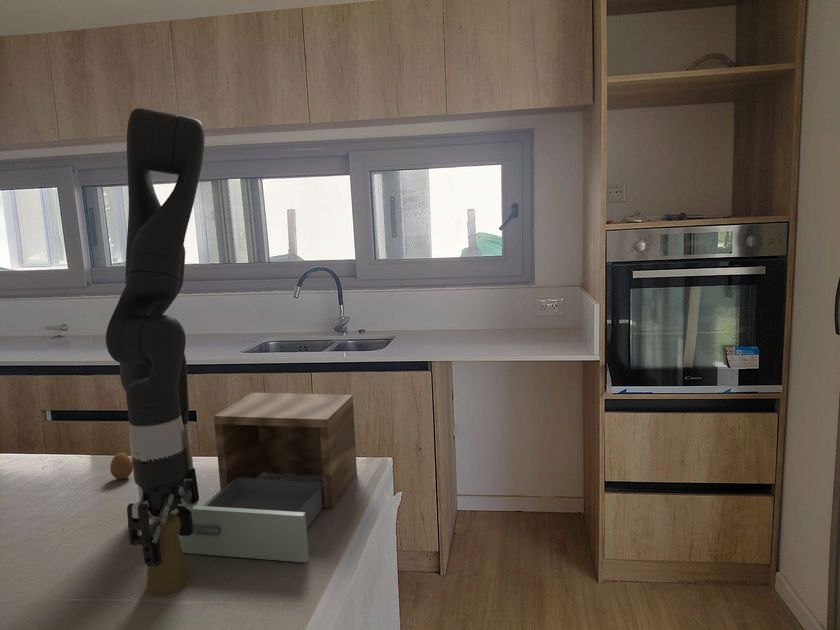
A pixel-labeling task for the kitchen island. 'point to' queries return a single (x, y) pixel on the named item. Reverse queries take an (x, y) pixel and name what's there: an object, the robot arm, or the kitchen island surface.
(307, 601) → the kitchen island surface
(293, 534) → the drawer
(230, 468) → the cabinet
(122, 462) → the egg
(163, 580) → the olive tall rounded piece
